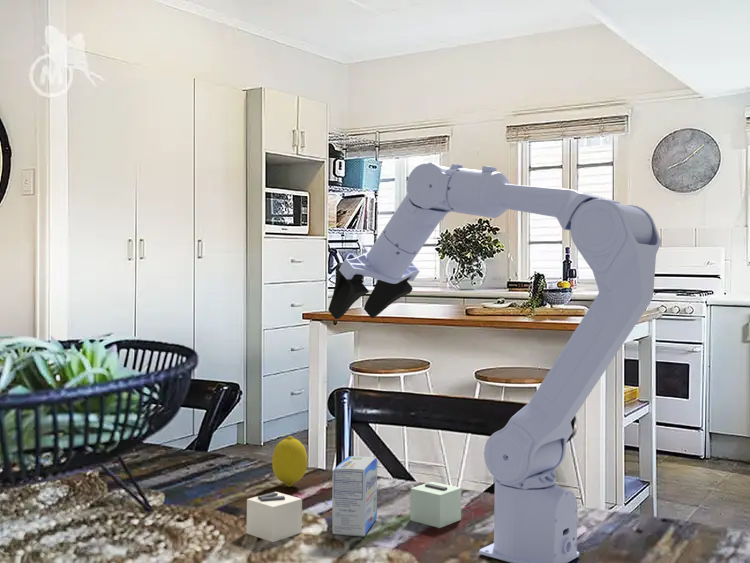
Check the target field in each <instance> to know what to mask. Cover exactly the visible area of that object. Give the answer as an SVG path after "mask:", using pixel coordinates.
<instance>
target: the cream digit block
mask: <svg viewBox="0 0 750 563" xmlns="http://www.w3.org/2000/svg"><path fill="white" fill-rule="evenodd" d="M302 519H303V498H300V497H296V496H293V495H290V494H286V493H283V492H282V493H281V492H279V491H273V492H270V493H265V494H262V495H257V496H253V497H250V498H247V499H246V528H245V529H246V531H245V532H246V534H247V535H250V536H253V537H256V538H259V539H262V540H265V541H268V542H272V543H274V542H276V541H280V540H281V541H282V540H283V539H286V538H289V537H293V536H295V535H299V534H302V529H303V528H302V524H303V522H302Z"/></svg>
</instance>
